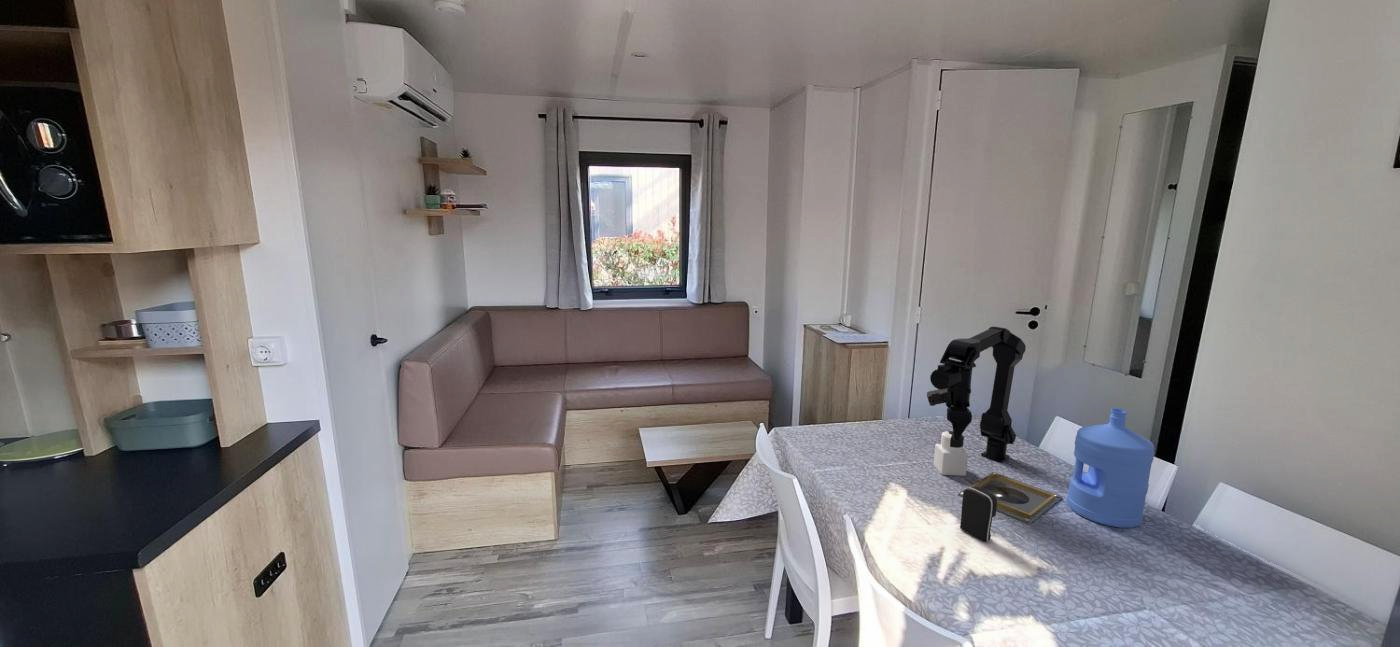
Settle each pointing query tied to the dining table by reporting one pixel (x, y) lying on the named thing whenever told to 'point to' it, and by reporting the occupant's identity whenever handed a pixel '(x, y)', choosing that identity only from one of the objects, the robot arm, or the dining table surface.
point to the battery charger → (978, 512)
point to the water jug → (1111, 473)
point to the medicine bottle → (950, 455)
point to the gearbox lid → (1017, 497)
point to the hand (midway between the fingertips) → (955, 433)
